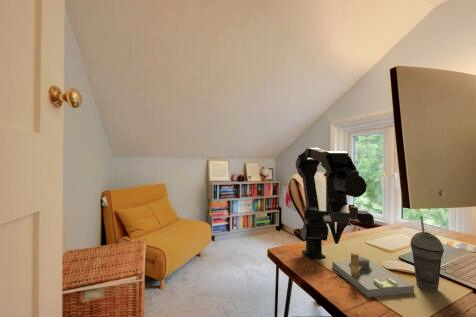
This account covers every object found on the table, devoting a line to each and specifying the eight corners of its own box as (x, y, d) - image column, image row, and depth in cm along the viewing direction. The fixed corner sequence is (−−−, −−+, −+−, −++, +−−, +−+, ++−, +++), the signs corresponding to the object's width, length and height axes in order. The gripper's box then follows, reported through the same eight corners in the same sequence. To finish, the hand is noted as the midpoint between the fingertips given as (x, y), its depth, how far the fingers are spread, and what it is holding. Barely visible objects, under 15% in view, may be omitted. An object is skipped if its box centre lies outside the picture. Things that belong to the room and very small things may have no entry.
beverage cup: (432, 297, 55) (431, 221, 56) (404, 282, 62) (403, 215, 63) (451, 292, 57) (450, 219, 58) (421, 278, 64) (420, 213, 65)
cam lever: (353, 261, 70) (353, 243, 70) (370, 266, 67) (370, 247, 67) (344, 273, 62) (344, 252, 62) (363, 279, 59) (363, 258, 59)
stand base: (332, 267, 71) (332, 258, 71) (369, 265, 72) (369, 256, 73) (368, 297, 55) (368, 285, 55) (414, 293, 57) (414, 282, 57)
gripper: (304, 194, 59) (304, 249, 58) (380, 197, 53) (381, 259, 53) (304, 189, 69) (304, 236, 69) (367, 192, 64) (367, 243, 63)
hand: (336, 243), depth 63 cm, fingers closed
